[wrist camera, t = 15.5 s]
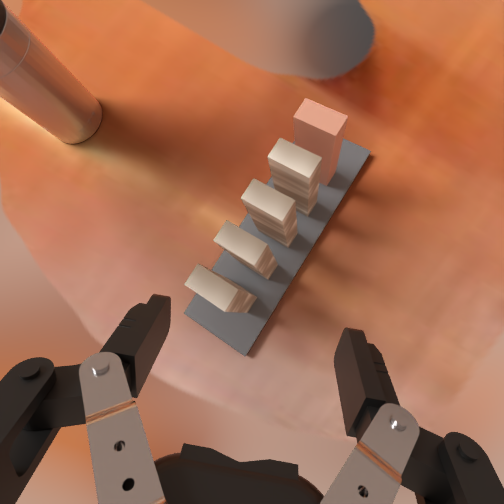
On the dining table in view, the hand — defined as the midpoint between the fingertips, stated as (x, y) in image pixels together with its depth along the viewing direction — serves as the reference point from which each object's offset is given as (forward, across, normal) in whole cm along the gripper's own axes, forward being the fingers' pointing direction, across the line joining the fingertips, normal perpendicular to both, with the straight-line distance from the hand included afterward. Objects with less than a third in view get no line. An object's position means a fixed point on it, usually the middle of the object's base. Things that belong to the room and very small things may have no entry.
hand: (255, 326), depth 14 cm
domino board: (+28, +2, -8) cm, 29 cm away
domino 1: (+30, +4, -3) cm, 30 cm away
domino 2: (+27, +2, -7) cm, 28 cm away
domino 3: (+25, 0, -11) cm, 27 cm away
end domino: (+32, +6, 0) cm, 33 cm away
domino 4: (+22, -2, -15) cm, 27 cm away
